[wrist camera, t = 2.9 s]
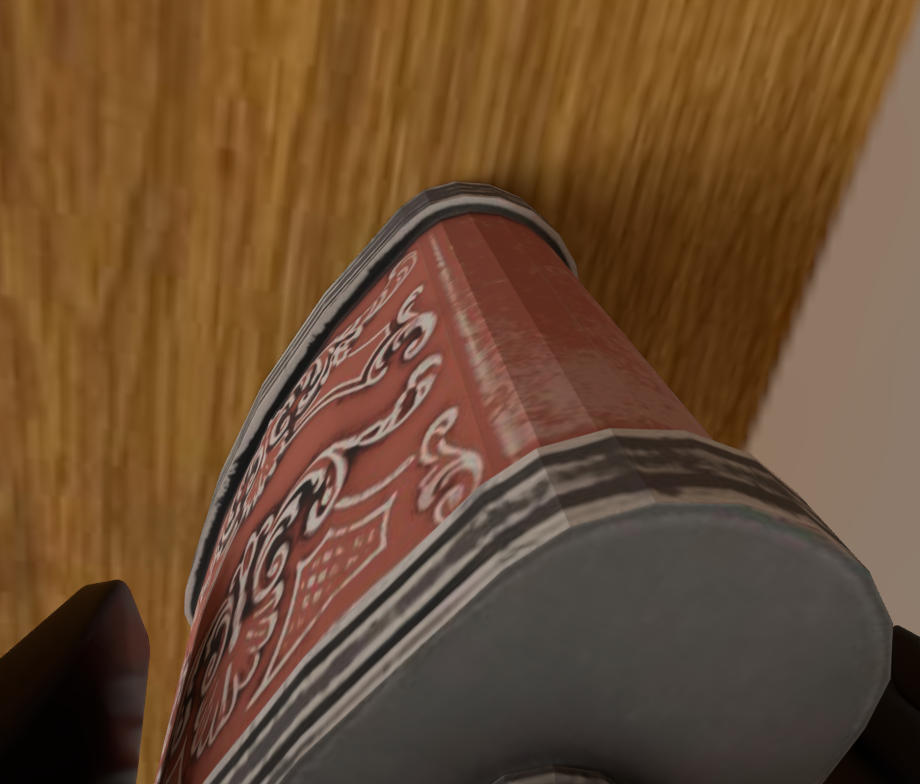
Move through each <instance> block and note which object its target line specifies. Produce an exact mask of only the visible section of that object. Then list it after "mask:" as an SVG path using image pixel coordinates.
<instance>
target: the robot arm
mask: <svg viewBox="0 0 920 784" xmlns="http://www.w3.org/2000/svg"><path fill="white" fill-rule="evenodd" d="M149 658H150V646H149V639H148V635H147V632H146V629H145V627H144V624H143V622H142V619H141V617H140V614H139V612H138V609H137V607H136V604H135V602H134V599H133V596H132V594H131V591H130V589H129V587H128V586H127V585H126V583H125V582H123V581H121V580H112V581H107V582H101V583H96V584H90V585H86V586H84V587H82V588H81V589H80V590H79V591H78V592H76V593H75V594H74V595H73V596H72V597H71V598H69V599H68V600H67V601H66V602H65V603H64V604H63V605H61V606H60V607H59V608H58V609H57V610H56V611H54V612H53V613H52V614H51V615H50V616H49V617H48V618H46V619H45V620H44V621H43V622H42V623H41V624H40V625H38V626H37V627H36V628H35V629H34V630H33V631H31V632H30V633H29V634H28V635H27V636H26V637H25V638H23V639H22V640H21V641H20V642H19V643H18V644H17V645H15V646H14V647H13V648H12V649H11V650H10V651H8V652H7V653H6V654H5V655H4V656H3V657H2V658H0V784H136V778H137V771H138V763H139V754H140V744H141V735H142V725H143V715H144V706H145V696H146V687H147V677H148V668H149ZM823 784H920V637H919V636H917V635H915V634H913V633H912V632H910V631H908V630H906V629H904V628H902V627H901V626H898V625H896V626H894V627H893V637H892V656H891V676H890V681H889V683H888V684H887V686H886V688H885V690H884V692H883V694H882V696H881V698H880V700H879V702H878V704H877V706H876V708H875V710H874V712H873V714H872V716H871V718H870V720H869V722H868V724H867V726H866V728H865V729H864V731H863V732H862V733H861V734H860V736H859V737H858V738H857V740H856V741H855V742H854V743H853V745H852V746H851V747H850V749H849V750H848V751H847V753H846V754H845V755H844V756H843V758H842V759H841V760H840V762H839V763H838V764H837V765H836V767H835V768H834V769H833V771H832V772H831V773H830V775H829V776H828V777H827V778H826V780H825V781H824V782H823Z"/></svg>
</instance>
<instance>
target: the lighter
mask: <svg viewBox="0 0 920 784" xmlns="http://www.w3.org/2000/svg"><path fill="white" fill-rule="evenodd" d="M185 616H186V618H187V620H188V622H189V624H190V626H191V631H190V636H189V640H188V644H187V648H186V652H185V657H184V661H183V665H182V669H181V674H180V678H179V682H178V686H177V690H176V695H175V699H174V703H173V707H172V711H171V716H170V720H169V724H168V728H167V733H166V737H165V741H164V745H163V749H162V754H161V758H160V762H159V766H158V770H157V775H156V779H155V783H154V784H823V782H824V781H825V780H826V778H827V777H828V776H829V775H830V773H831V772H832V771H833V769H834V768H835V767H836V765H837V764H838V763H839V762H840V760H841V759H842V758H843V756H844V755H845V754H846V753H847V751H848V750H849V749H850V747H851V746H852V745H853V743H854V742H855V741H856V740H857V738H858V737H859V736H860V734H861V733H862V732H863V731H864V729H865V728H866V726H867V724H868V722H869V720H870V718H871V716H872V714H873V712H874V710H875V708H876V706H877V704H878V702H879V700H880V698H881V696H882V694H883V692H884V690H885V688H886V686H887V684H888V683H889V681H890V676H891V656H892V637H893V623H892V620H891V618H890V616H889V614H888V612H887V609H886V607H885V605H884V603H883V601H882V598H881V596H880V594H879V592H878V590H877V587H876V585H875V583H874V581H873V579H872V576H871V574H870V572H869V571H868V570H867V569H866V567H865V566H864V565H863V564H862V563H861V562H860V561H859V560H858V559H857V558H856V557H855V556H854V554H853V553H852V552H851V551H850V550H849V549H848V548H847V547H846V546H845V545H844V544H843V543H842V541H841V540H839V538H838V537H837V536H836V535H835V534H834V533H833V532H832V530H831V529H829V528H828V526H827V525H826V524H825V523H824V522H823V521H822V520H821V519H820V517H819V516H818V515H817V514H816V513H815V512H814V511H813V510H812V509H811V508H810V507H809V506H808V505H807V503H806V502H805V501H804V500H803V499H802V498H801V497H800V496H799V495H798V494H797V493H796V492H795V491H794V490H793V489H792V488H790V487H789V486H788V485H787V484H786V483H784V482H783V481H782V480H781V479H780V478H778V477H777V476H776V475H775V474H774V473H772V472H771V471H770V470H769V469H768V468H767V467H766V466H764V465H763V464H762V463H761V462H760V461H758V460H757V459H756V458H755V457H754V456H752V455H751V454H750V453H747V452H744V451H741V450H738V449H736V448H733V447H730V446H727V445H724V444H722V443H719V442H716V441H714V440H713V439H712V438H711V437H710V436H709V435H708V433H707V432H706V431H705V430H704V429H703V427H702V426H701V425H700V424H699V423H698V421H697V420H696V419H695V418H694V417H693V416H692V414H691V413H690V412H689V411H688V410H687V408H686V407H685V406H684V405H683V404H682V402H681V401H680V400H679V399H678V398H677V396H676V395H675V394H674V393H673V392H672V391H671V389H670V388H669V387H668V386H667V385H666V383H665V382H664V381H663V380H662V379H661V377H660V376H659V375H658V374H657V373H656V372H655V370H654V369H653V368H652V367H651V366H650V364H649V363H648V362H647V361H646V360H645V358H644V357H643V356H642V355H641V354H640V353H639V351H638V350H637V349H636V348H635V347H634V345H633V344H632V343H631V342H630V341H629V339H628V338H627V337H626V336H625V335H624V334H623V332H622V331H621V330H620V329H619V328H618V326H617V325H616V324H615V323H614V322H613V320H612V319H611V318H610V317H609V316H608V315H607V313H606V312H605V311H604V310H603V309H602V307H601V306H600V305H599V304H598V303H597V301H596V300H595V299H594V298H593V297H592V296H591V294H590V293H589V292H588V291H587V290H586V288H585V287H584V286H583V285H582V284H581V282H580V281H579V280H578V273H577V266H576V263H575V261H574V260H573V258H572V256H571V254H570V253H569V251H568V249H567V247H566V245H565V244H564V242H563V240H562V238H561V236H560V235H559V234H558V233H557V232H556V231H555V230H554V229H553V228H552V226H551V225H550V224H549V223H548V222H547V221H546V220H545V219H544V218H543V217H542V216H541V215H540V214H538V213H537V212H536V211H535V210H534V209H533V208H532V207H530V206H529V205H528V204H527V203H526V202H525V201H524V200H523V199H521V198H520V197H518V196H516V195H513V194H511V193H509V192H506V191H504V190H502V189H499V188H497V187H495V186H492V185H490V184H481V183H468V182H452V183H448V184H444V185H441V186H437V187H433V188H430V189H426V190H423V191H422V192H421V193H419V194H418V195H417V196H415V197H414V198H413V199H411V200H410V201H409V202H407V203H406V204H405V205H403V206H402V207H401V208H399V210H398V211H397V212H396V213H395V214H394V215H393V216H392V218H391V219H390V220H389V221H388V222H387V223H386V224H385V225H384V227H383V228H382V229H381V230H380V231H379V232H378V233H377V235H376V236H375V237H374V238H373V239H372V240H371V241H370V242H369V244H368V245H367V246H366V247H365V248H364V249H363V250H362V252H361V253H360V254H359V255H358V256H357V257H356V258H355V259H354V261H353V262H352V263H351V264H350V265H349V266H348V267H347V268H346V270H345V271H344V272H343V273H342V274H341V275H340V276H339V278H338V279H337V280H336V281H335V282H334V283H333V284H332V285H331V287H330V288H329V289H328V290H327V291H326V292H325V293H324V295H323V296H322V298H321V299H320V301H319V302H318V304H317V305H316V307H315V308H314V310H313V311H312V312H311V314H310V315H309V317H308V318H307V320H306V321H305V323H304V324H303V326H302V327H301V329H300V330H299V332H298V333H297V334H296V336H295V337H294V339H293V340H292V342H291V343H290V345H289V346H288V348H287V349H286V351H285V352H284V354H283V355H282V356H281V358H280V359H279V361H278V362H277V364H276V365H275V367H274V368H273V370H272V371H271V373H270V374H269V375H268V377H267V378H266V380H265V381H264V383H263V384H262V387H261V389H260V391H259V393H258V395H257V397H256V399H255V401H254V403H253V406H252V408H251V410H250V412H249V414H248V416H247V418H246V420H245V422H244V425H243V427H242V429H241V431H240V433H239V435H238V437H237V439H236V441H235V444H234V446H233V448H232V450H231V452H230V454H229V456H228V458H227V460H226V463H225V465H224V467H223V469H222V471H221V473H220V476H219V479H218V482H217V486H216V489H215V492H214V495H213V499H212V502H211V505H210V508H209V511H208V515H207V518H206V521H205V524H204V528H203V531H202V534H201V537H200V541H199V544H198V547H197V550H196V553H195V557H194V561H193V564H192V568H191V572H190V576H189V580H188V584H187V587H186V591H185Z"/></svg>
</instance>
